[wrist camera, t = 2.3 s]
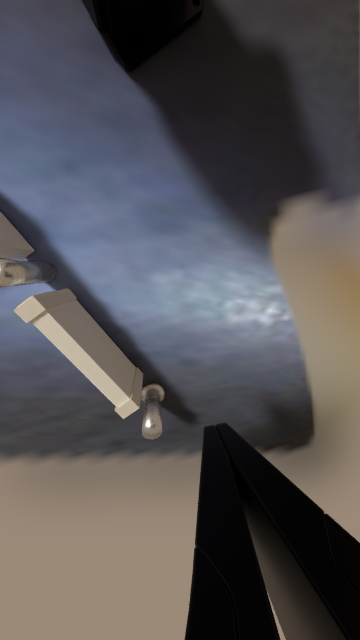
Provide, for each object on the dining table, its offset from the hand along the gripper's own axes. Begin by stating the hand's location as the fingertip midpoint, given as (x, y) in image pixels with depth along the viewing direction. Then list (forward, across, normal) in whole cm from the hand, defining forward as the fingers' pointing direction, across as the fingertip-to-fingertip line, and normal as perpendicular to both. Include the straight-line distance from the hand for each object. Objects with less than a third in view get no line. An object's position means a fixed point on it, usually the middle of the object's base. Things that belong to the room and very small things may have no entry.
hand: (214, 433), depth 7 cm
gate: (+12, +7, 0) cm, 13 cm away
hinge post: (+12, +10, -7) cm, 17 cm away
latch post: (+12, +3, +6) cm, 14 cm away
